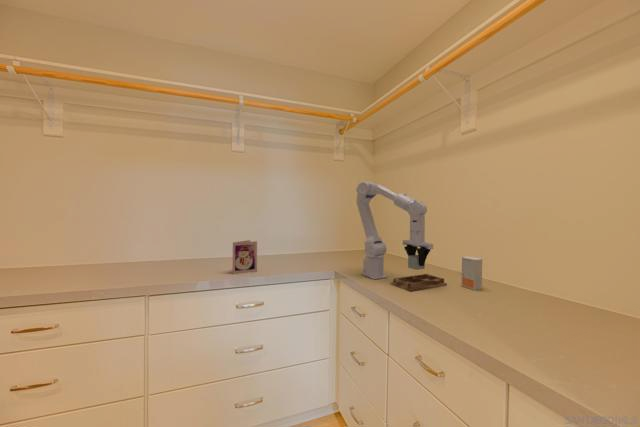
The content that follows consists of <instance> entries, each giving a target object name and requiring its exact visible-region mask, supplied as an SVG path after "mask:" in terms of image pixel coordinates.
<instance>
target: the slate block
mask: <svg viewBox="0 0 640 427" xmlns="http://www.w3.org/2000/svg"><path fill="white" fill-rule="evenodd" d="M407 257H408V258H407V268H408V269H412V270H415V271H417V270H425V265H426V264H424V266H419V257H418V254H416V255H409V256H408V255H407Z"/></svg>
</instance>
